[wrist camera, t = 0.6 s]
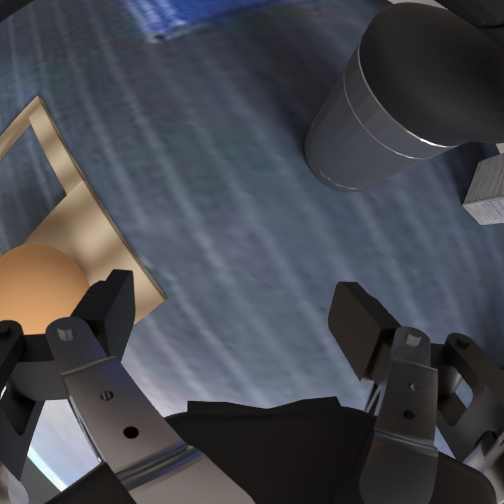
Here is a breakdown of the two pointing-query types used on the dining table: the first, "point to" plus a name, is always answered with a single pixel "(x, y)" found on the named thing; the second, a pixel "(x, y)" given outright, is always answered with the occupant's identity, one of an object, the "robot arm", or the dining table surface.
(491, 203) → the medicine box
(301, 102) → the dining table surface
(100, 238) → the board
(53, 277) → the ball
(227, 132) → the dining table surface
